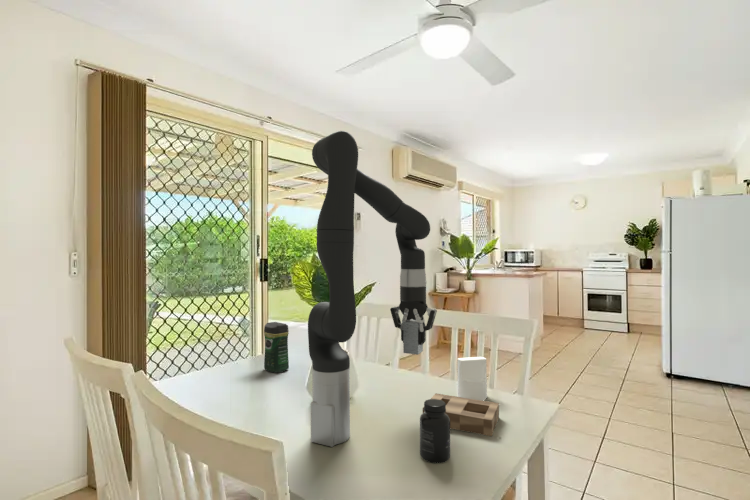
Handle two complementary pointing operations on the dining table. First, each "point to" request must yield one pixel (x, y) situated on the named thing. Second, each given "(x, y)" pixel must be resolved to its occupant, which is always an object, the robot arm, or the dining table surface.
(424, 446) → the supplement bottle
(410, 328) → the steel square peg
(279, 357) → the coffee jar
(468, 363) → the white upright block
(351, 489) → the dining table surface
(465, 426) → the socket board
